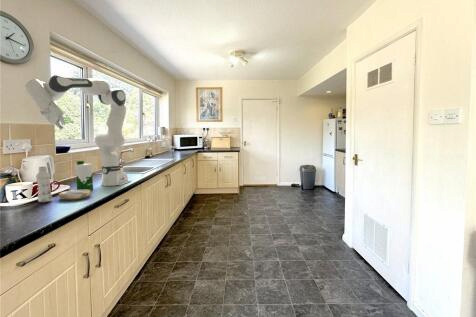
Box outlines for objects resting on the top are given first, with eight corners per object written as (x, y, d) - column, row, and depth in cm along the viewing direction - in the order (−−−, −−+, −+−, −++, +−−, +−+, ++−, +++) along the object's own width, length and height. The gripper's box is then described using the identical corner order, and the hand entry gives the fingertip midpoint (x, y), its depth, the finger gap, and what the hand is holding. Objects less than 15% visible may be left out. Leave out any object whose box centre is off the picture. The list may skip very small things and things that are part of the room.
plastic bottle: (44, 203, 139) (42, 168, 137) (34, 203, 141) (32, 167, 139) (55, 200, 145) (53, 166, 144) (45, 200, 147) (43, 166, 145)
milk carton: (82, 188, 177) (81, 160, 175) (95, 188, 177) (94, 160, 175) (74, 191, 169) (72, 161, 167) (87, 191, 168) (86, 161, 167)
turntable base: (76, 195, 159) (76, 192, 159) (91, 196, 156) (91, 194, 156) (58, 199, 148) (58, 197, 148) (73, 201, 144) (73, 198, 144)
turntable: (77, 191, 162) (77, 188, 162) (96, 193, 157) (96, 190, 157) (52, 197, 147) (52, 194, 146) (73, 200, 142) (72, 196, 142)
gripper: (56, 98, 145) (71, 119, 148) (51, 110, 160) (65, 129, 163) (45, 101, 141) (60, 123, 144) (41, 114, 156) (55, 133, 159)
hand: (63, 126), depth 153 cm, fingers open, 8 cm apart
